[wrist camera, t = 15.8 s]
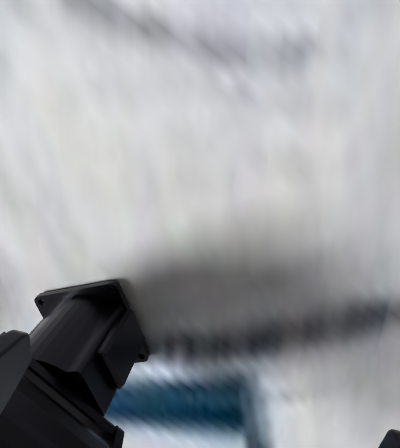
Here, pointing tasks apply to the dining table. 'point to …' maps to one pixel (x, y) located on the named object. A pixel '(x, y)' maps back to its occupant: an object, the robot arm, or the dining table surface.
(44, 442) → the robot arm
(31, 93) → the dining table surface
